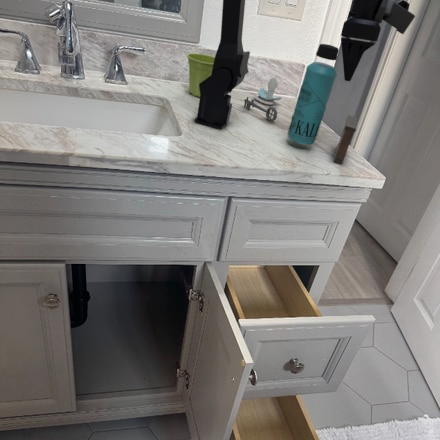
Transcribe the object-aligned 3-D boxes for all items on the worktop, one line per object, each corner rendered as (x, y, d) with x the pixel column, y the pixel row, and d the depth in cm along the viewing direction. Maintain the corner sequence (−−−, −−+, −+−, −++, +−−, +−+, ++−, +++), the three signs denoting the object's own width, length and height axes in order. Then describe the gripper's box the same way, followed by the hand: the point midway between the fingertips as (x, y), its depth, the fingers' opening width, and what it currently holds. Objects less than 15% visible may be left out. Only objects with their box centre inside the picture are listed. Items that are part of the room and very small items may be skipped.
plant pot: (186, 86, 115) (190, 50, 109) (220, 94, 115) (226, 59, 110) (179, 94, 108) (183, 57, 102) (215, 103, 108) (221, 66, 102)
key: (276, 124, 103) (279, 110, 101) (273, 124, 103) (277, 110, 101) (244, 107, 110) (247, 93, 108) (242, 107, 109) (244, 93, 107)
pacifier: (266, 107, 114) (282, 106, 117) (272, 82, 110) (288, 81, 113) (249, 98, 118) (264, 97, 121) (253, 74, 114) (269, 73, 117)
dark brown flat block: (332, 162, 90) (345, 125, 85) (335, 149, 97) (347, 115, 92) (342, 164, 90) (356, 128, 85) (344, 151, 97) (357, 117, 92)
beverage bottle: (293, 138, 98) (322, 40, 85) (318, 148, 95) (351, 49, 83) (279, 142, 93) (306, 40, 81) (304, 154, 91) (336, 50, 78)
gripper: (427, -15, 65) (391, 93, 75) (417, -17, 79) (388, 74, 89) (355, -25, 67) (329, 82, 76) (358, -25, 81) (335, 66, 91)
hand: (348, 76), depth 83 cm, fingers open, 9 cm apart
